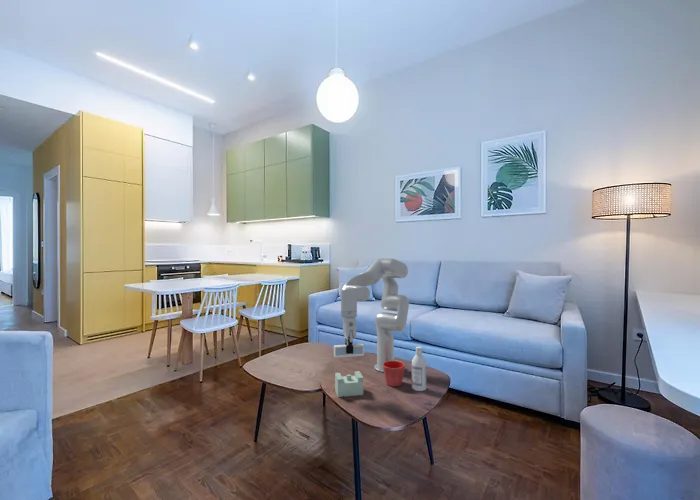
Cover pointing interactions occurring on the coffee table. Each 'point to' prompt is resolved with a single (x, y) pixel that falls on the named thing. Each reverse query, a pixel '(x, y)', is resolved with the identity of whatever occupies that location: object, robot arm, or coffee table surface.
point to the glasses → (341, 350)
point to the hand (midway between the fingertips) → (349, 352)
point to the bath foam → (418, 371)
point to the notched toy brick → (349, 384)
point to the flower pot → (393, 372)
